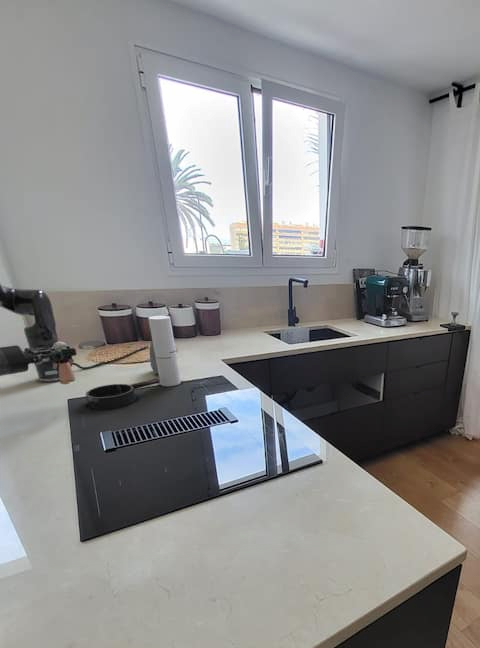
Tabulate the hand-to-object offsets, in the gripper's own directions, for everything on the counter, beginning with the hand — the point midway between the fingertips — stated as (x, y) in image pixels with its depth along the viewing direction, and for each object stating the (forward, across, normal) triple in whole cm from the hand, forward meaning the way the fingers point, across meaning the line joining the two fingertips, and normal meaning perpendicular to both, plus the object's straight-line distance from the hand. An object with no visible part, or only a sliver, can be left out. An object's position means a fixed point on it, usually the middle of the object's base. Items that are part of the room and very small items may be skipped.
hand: (72, 350), depth 121 cm
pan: (+7, -2, +19) cm, 20 cm away
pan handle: (+19, -2, +16) cm, 25 cm away
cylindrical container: (+30, +1, +19) cm, 35 cm away
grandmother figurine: (-3, 0, +10) cm, 10 cm away
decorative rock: (+35, +14, +18) cm, 42 cm away
